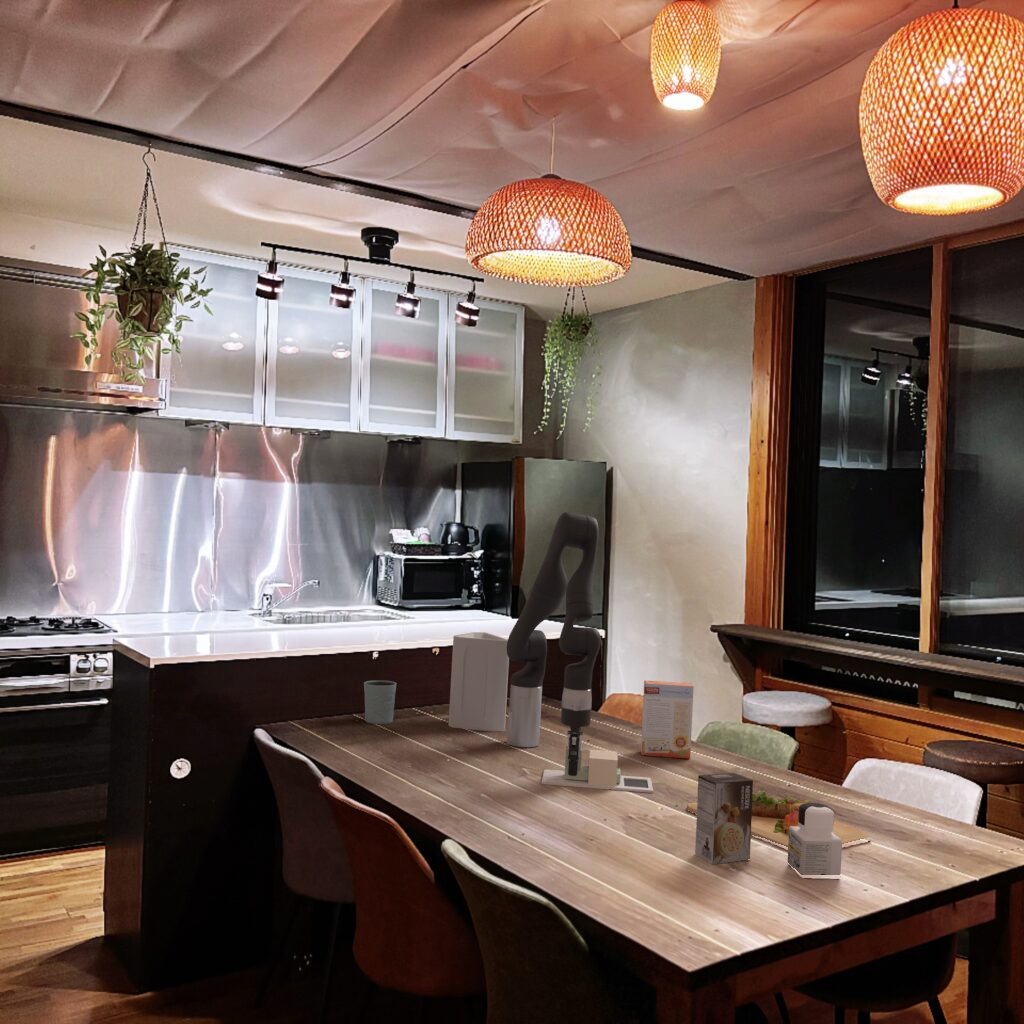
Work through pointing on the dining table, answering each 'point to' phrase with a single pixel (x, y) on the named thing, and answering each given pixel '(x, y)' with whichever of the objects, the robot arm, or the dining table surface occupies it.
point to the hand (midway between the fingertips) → (572, 771)
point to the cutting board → (784, 819)
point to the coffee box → (724, 818)
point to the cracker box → (667, 719)
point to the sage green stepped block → (581, 768)
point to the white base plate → (601, 775)
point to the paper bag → (479, 682)
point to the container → (815, 842)
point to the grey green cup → (379, 701)
